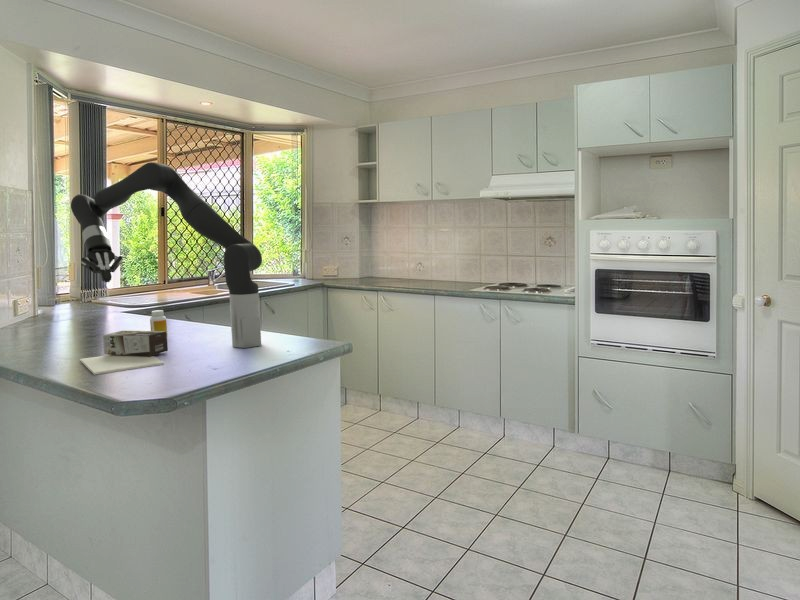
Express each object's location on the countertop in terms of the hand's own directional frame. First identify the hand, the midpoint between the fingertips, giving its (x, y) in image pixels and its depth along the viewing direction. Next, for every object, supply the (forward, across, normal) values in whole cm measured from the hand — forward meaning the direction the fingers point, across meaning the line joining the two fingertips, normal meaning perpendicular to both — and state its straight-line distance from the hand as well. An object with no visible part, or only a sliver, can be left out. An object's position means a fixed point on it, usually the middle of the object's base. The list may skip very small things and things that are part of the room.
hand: (107, 280), depth 192 cm
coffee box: (+22, -2, +4) cm, 22 cm away
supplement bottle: (+11, +17, +21) cm, 29 cm away
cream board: (+34, -3, -4) cm, 35 cm away
